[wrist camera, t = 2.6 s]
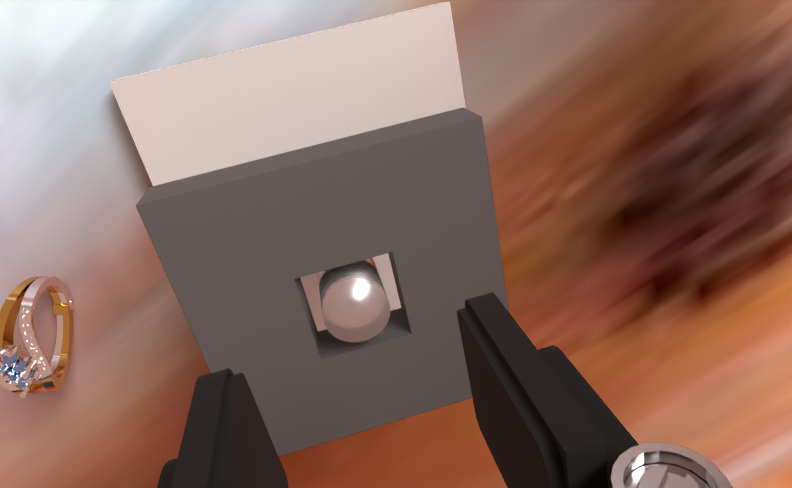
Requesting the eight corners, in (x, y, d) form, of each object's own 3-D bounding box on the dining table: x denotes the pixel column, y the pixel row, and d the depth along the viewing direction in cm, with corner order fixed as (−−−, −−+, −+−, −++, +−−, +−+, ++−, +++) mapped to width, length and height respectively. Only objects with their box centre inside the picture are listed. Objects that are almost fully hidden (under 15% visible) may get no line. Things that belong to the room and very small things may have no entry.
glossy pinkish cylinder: (298, 196, 34) (305, 289, 23) (352, 182, 35) (387, 267, 23) (313, 245, 36) (327, 357, 24) (365, 231, 36) (404, 335, 24)
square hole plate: (150, 186, 23) (135, 205, 20) (462, 107, 24) (481, 116, 22) (254, 429, 29) (251, 465, 26) (500, 355, 30) (518, 383, 28)
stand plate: (118, 78, 32) (108, 81, 30) (440, 2, 33) (449, 1, 32) (240, 369, 41) (238, 386, 39) (487, 298, 43) (496, 310, 41)
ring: (97, 346, 38) (53, 424, 31) (46, 347, 37) (-11, 427, 30) (87, 257, 35) (37, 319, 28) (32, 256, 35) (-34, 319, 27)
